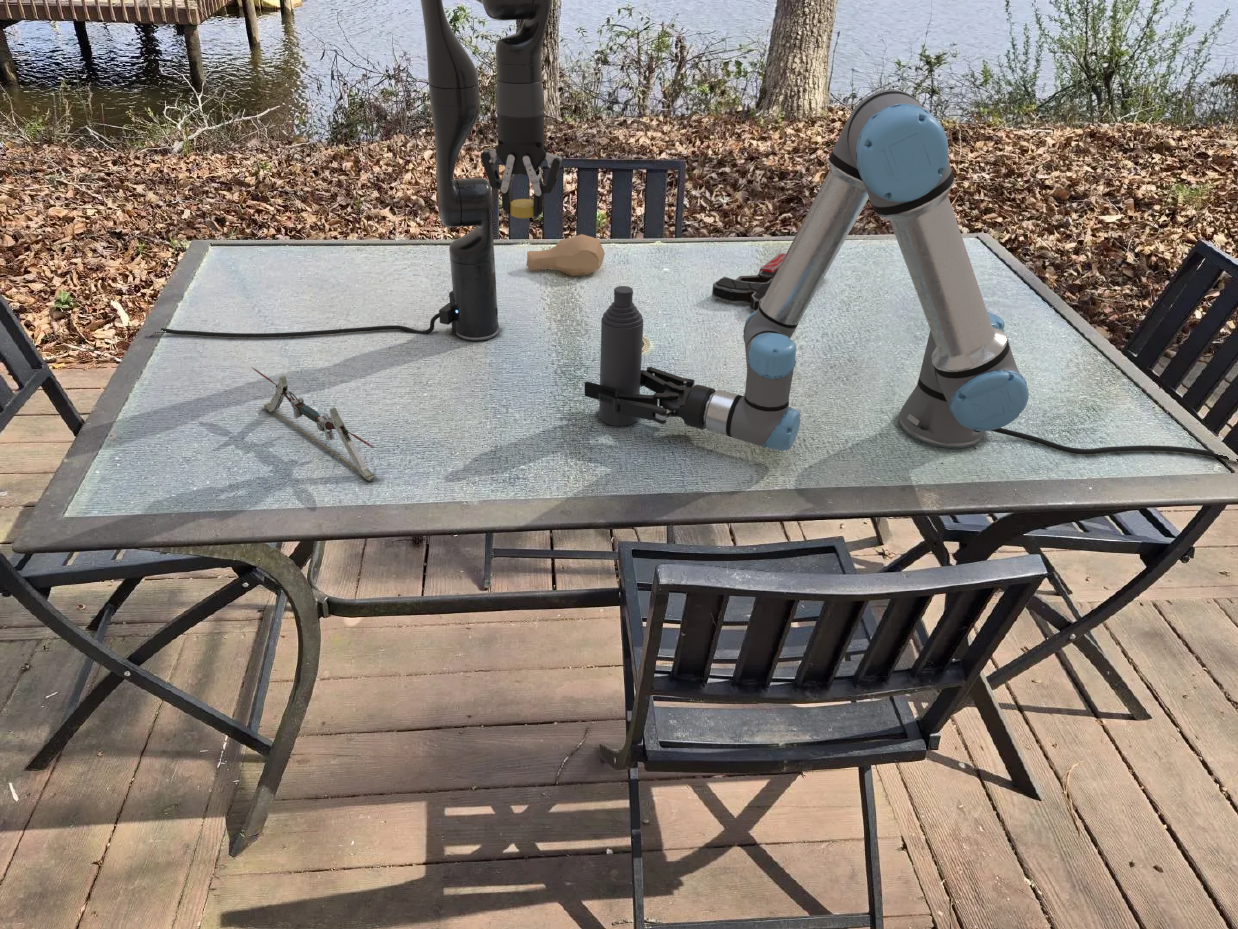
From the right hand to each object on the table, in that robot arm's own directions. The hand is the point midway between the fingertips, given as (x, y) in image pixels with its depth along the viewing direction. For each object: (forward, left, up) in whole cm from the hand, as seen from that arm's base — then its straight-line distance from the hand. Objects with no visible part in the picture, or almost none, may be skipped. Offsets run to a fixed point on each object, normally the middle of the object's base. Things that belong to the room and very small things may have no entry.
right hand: (596, 379), depth 162 cm
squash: (+12, -69, -6) cm, 71 cm away
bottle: (-4, +2, -6) cm, 8 cm away
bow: (+48, +15, -6) cm, 51 cm away
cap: (+13, -4, +31) cm, 34 cm away
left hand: (+13, -4, +29) cm, 32 cm away
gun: (-40, -61, -6) cm, 73 cm away
